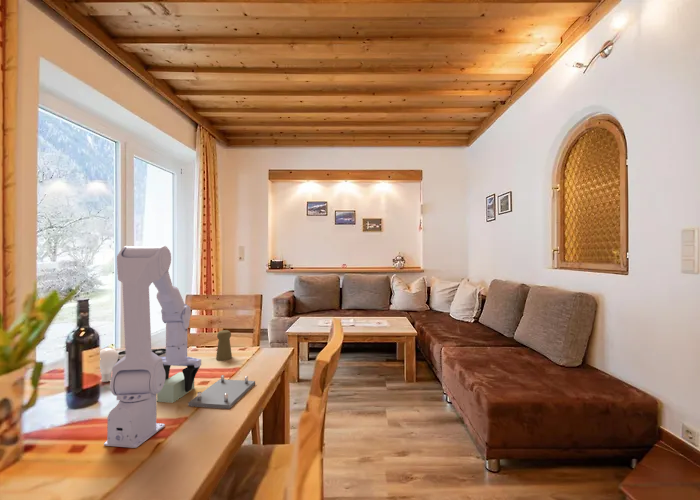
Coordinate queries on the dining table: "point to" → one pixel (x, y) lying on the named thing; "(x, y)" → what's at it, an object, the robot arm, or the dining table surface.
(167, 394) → the sage green block
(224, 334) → the olive pepper mill
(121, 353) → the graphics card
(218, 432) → the dining table surface
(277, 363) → the dining table surface
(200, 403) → the pin holder
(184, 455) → the dining table surface
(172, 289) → the robot arm
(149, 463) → the dining table surface
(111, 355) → the lightbulb
